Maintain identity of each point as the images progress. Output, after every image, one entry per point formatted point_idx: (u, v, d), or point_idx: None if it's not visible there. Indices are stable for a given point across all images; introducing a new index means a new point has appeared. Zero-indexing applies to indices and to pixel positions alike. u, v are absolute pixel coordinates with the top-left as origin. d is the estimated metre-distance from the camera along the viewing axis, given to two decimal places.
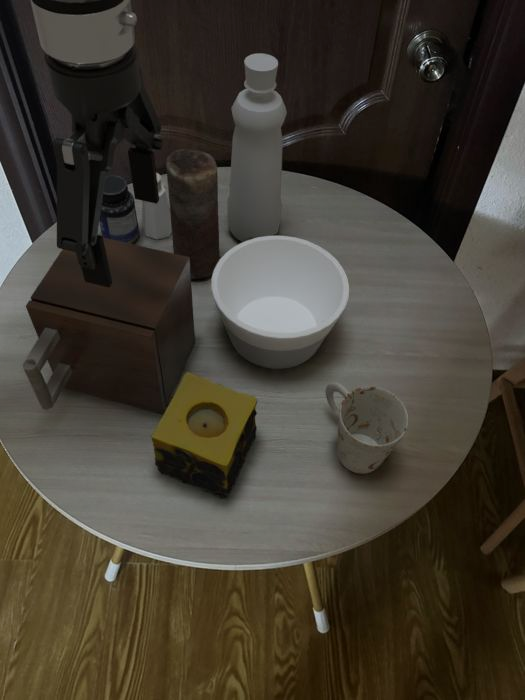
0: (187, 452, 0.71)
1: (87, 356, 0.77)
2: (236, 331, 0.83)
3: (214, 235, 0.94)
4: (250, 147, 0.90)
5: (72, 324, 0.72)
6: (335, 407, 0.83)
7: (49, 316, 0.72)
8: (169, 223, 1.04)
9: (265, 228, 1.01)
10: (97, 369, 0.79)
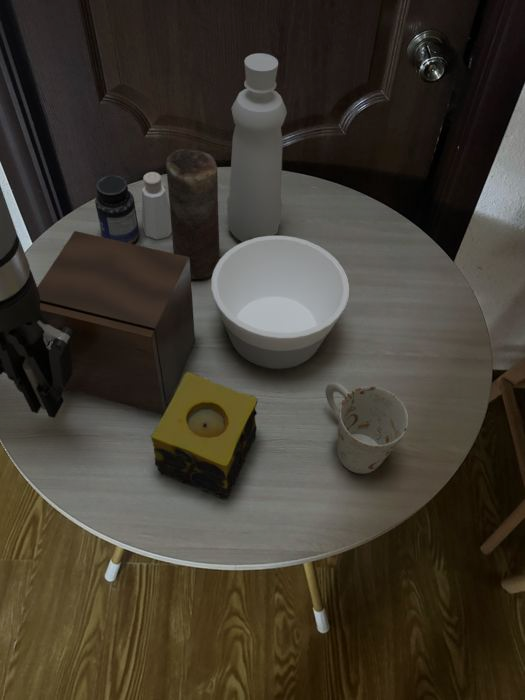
0: (187, 452, 0.71)
1: (87, 356, 0.77)
2: (236, 331, 0.83)
3: (214, 235, 0.94)
4: (250, 147, 0.90)
5: (72, 324, 0.72)
6: (335, 407, 0.83)
7: (49, 316, 0.72)
8: (169, 223, 1.04)
9: (265, 228, 1.01)
10: (97, 369, 0.79)
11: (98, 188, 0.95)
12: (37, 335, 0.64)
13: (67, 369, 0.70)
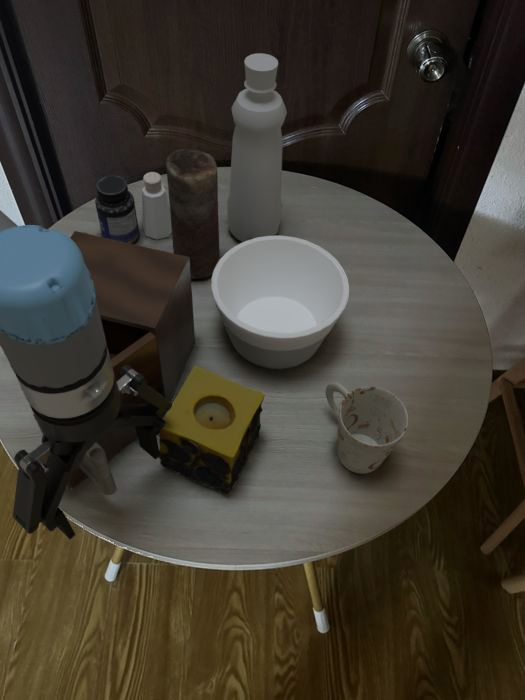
0: (194, 442, 0.71)
1: None
2: (236, 331, 0.83)
3: (214, 235, 0.94)
4: (250, 147, 0.90)
5: None
6: (335, 407, 0.83)
7: None
8: (169, 223, 1.04)
9: (265, 228, 1.01)
10: None
11: (98, 188, 0.95)
12: (121, 401, 0.60)
13: (155, 391, 0.67)
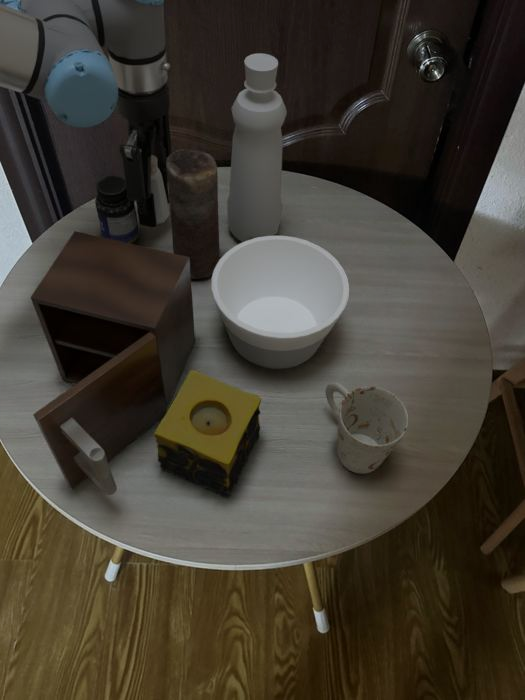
0: (190, 449, 0.71)
1: (100, 419, 0.72)
2: (236, 331, 0.83)
3: (214, 235, 0.94)
4: (250, 147, 0.90)
5: (85, 395, 0.67)
6: (335, 407, 0.83)
7: (63, 408, 0.65)
8: (165, 208, 1.01)
9: (265, 228, 1.01)
10: (110, 425, 0.75)
11: (98, 188, 0.95)
12: None
13: None
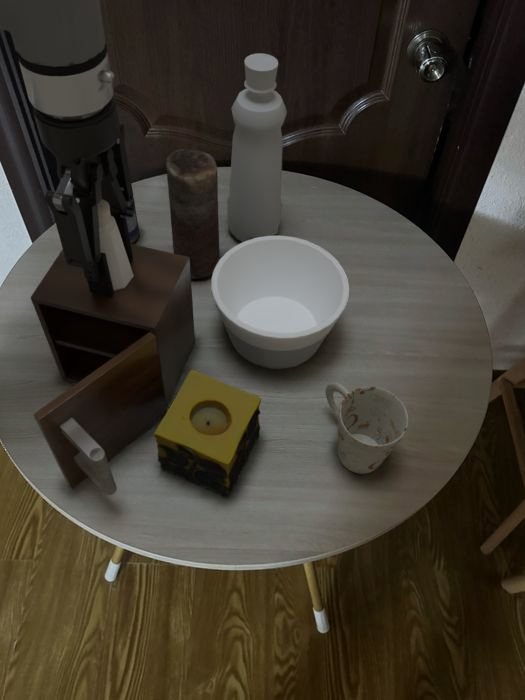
0: (189, 449, 0.71)
1: (100, 419, 0.72)
2: (236, 331, 0.83)
3: (214, 235, 0.94)
4: (250, 147, 0.90)
5: (85, 395, 0.67)
6: (335, 407, 0.83)
7: (63, 408, 0.65)
8: (126, 269, 0.73)
9: (265, 228, 1.01)
10: (110, 425, 0.75)
11: None
12: None
13: None
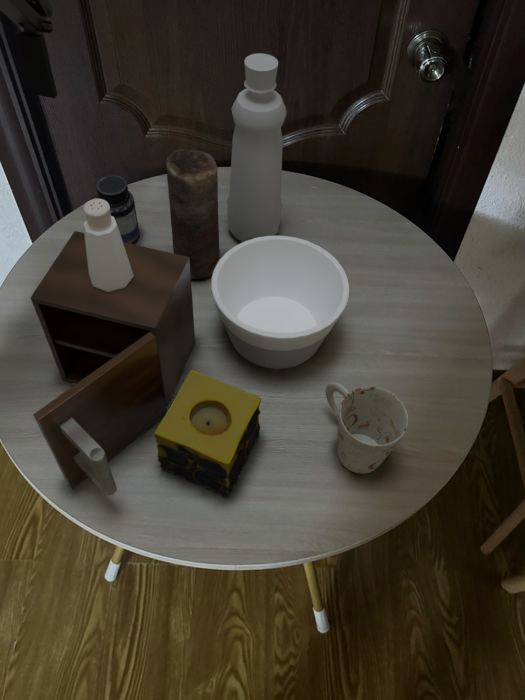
0: (189, 449, 0.71)
1: (100, 419, 0.72)
2: (236, 331, 0.83)
3: (214, 235, 0.94)
4: (250, 147, 0.90)
5: (85, 395, 0.67)
6: (335, 407, 0.83)
7: (63, 408, 0.65)
8: (126, 269, 0.73)
9: (265, 228, 1.01)
10: (110, 425, 0.75)
11: (98, 188, 0.95)
12: None
13: None
